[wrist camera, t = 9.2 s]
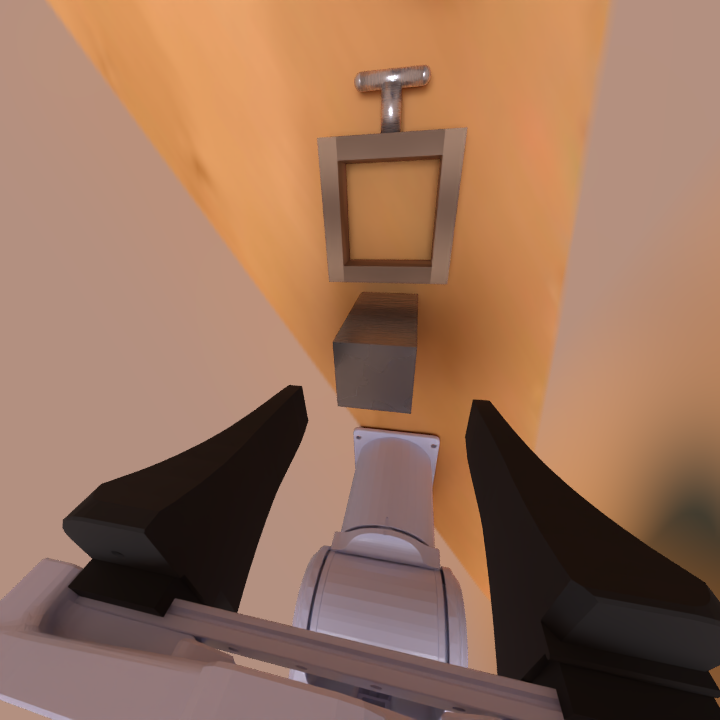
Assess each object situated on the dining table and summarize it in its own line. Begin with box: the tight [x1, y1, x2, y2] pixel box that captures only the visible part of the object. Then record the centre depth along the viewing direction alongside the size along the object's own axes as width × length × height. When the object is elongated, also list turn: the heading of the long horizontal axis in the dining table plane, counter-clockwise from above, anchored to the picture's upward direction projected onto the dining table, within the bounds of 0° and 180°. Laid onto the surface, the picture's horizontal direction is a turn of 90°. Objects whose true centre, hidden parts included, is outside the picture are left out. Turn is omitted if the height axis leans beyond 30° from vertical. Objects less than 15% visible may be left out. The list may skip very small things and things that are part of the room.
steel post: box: [333, 292, 418, 414], centre depth 18 cm, size 4×4×8 cm
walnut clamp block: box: [317, 65, 467, 284], centre depth 16 cm, size 10×7×2 cm
